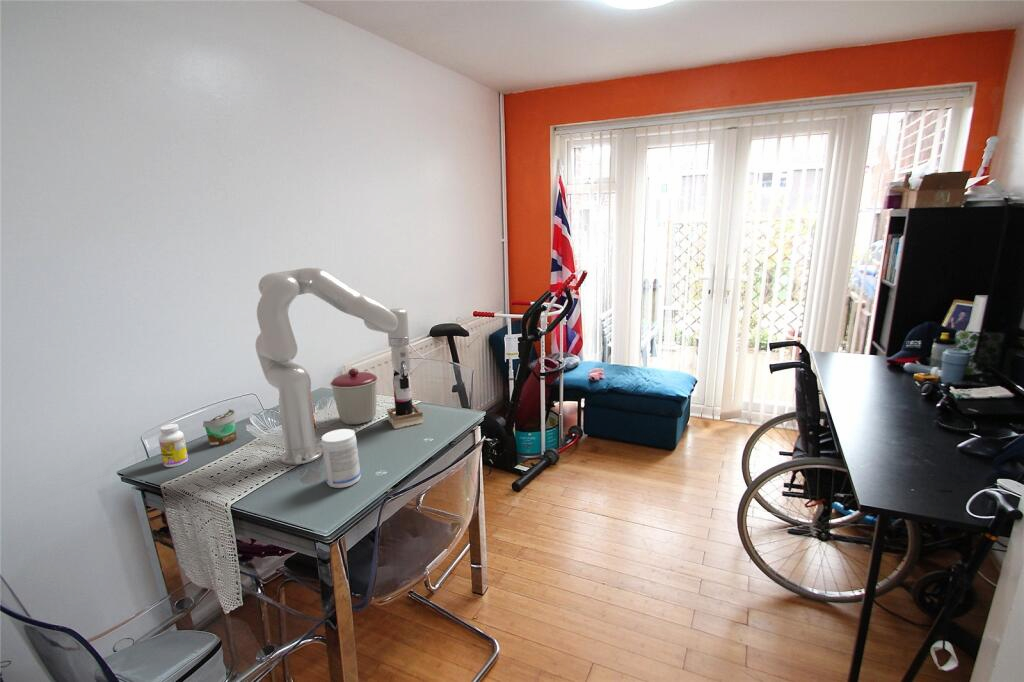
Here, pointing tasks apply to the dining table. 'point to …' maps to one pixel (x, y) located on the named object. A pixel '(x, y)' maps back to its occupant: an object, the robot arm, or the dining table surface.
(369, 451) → the dining table surface
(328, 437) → the supplement tub
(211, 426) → the food container
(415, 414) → the wooden tray
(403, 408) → the beverage can
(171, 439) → the supplement bottle
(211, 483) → the dining table surface
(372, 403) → the canister
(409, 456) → the dining table surface
